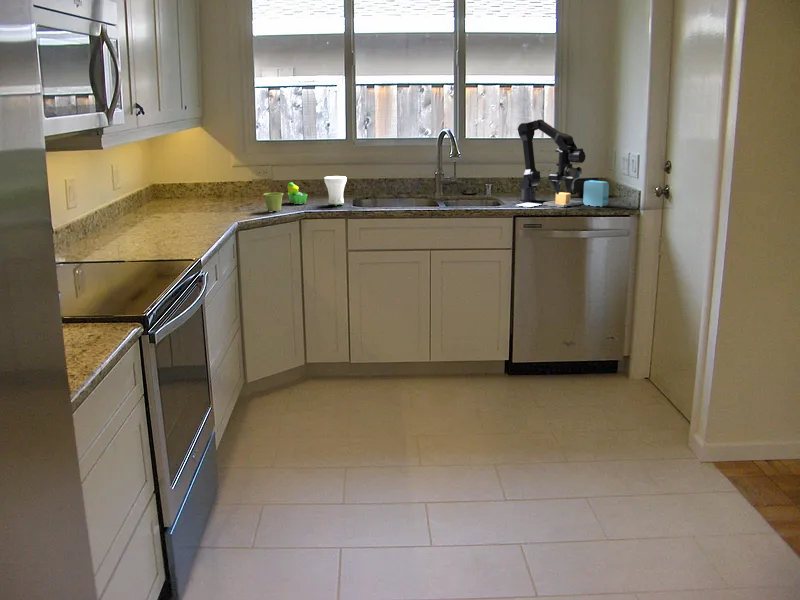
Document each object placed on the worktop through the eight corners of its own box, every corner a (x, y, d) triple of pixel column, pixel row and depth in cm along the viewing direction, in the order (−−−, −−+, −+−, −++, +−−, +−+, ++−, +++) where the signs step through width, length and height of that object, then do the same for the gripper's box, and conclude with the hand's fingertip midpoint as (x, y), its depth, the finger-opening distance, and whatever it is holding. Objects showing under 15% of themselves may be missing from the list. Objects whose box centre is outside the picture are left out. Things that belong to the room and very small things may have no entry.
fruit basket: (308, 204, 399) (307, 182, 396) (292, 205, 395) (291, 183, 392) (301, 201, 409) (300, 180, 406) (285, 203, 405) (284, 181, 402)
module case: (543, 205, 385) (543, 202, 384) (561, 202, 396) (561, 199, 395) (563, 208, 377) (563, 205, 376) (581, 204, 387) (582, 201, 387)
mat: (515, 206, 385) (515, 204, 385) (527, 203, 391) (527, 202, 391) (530, 207, 378) (530, 206, 378) (542, 205, 385) (542, 204, 385)
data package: (608, 206, 380) (609, 182, 377) (602, 207, 377) (603, 182, 374) (588, 203, 389) (589, 179, 386) (582, 204, 386) (583, 180, 383)
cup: (351, 205, 393) (350, 177, 389) (331, 207, 388) (330, 179, 384) (341, 203, 402) (340, 175, 399) (321, 204, 397) (320, 177, 393)
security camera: (562, 196, 416) (563, 177, 413) (593, 195, 420) (594, 176, 417) (567, 198, 409) (568, 179, 407) (599, 196, 413) (600, 177, 411)
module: (555, 205, 387) (555, 193, 385) (559, 204, 390) (560, 192, 388) (565, 206, 383) (566, 194, 381) (570, 205, 385) (570, 193, 384)
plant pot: (273, 209, 383) (272, 192, 381) (288, 210, 379) (287, 193, 377) (260, 212, 376) (259, 194, 373) (275, 213, 371) (274, 195, 369)
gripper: (567, 164, 369) (566, 196, 373) (589, 161, 381) (587, 192, 385) (548, 162, 376) (546, 194, 380) (569, 159, 389) (568, 191, 393)
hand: (563, 193), depth 385 cm, fingers open, 9 cm apart
